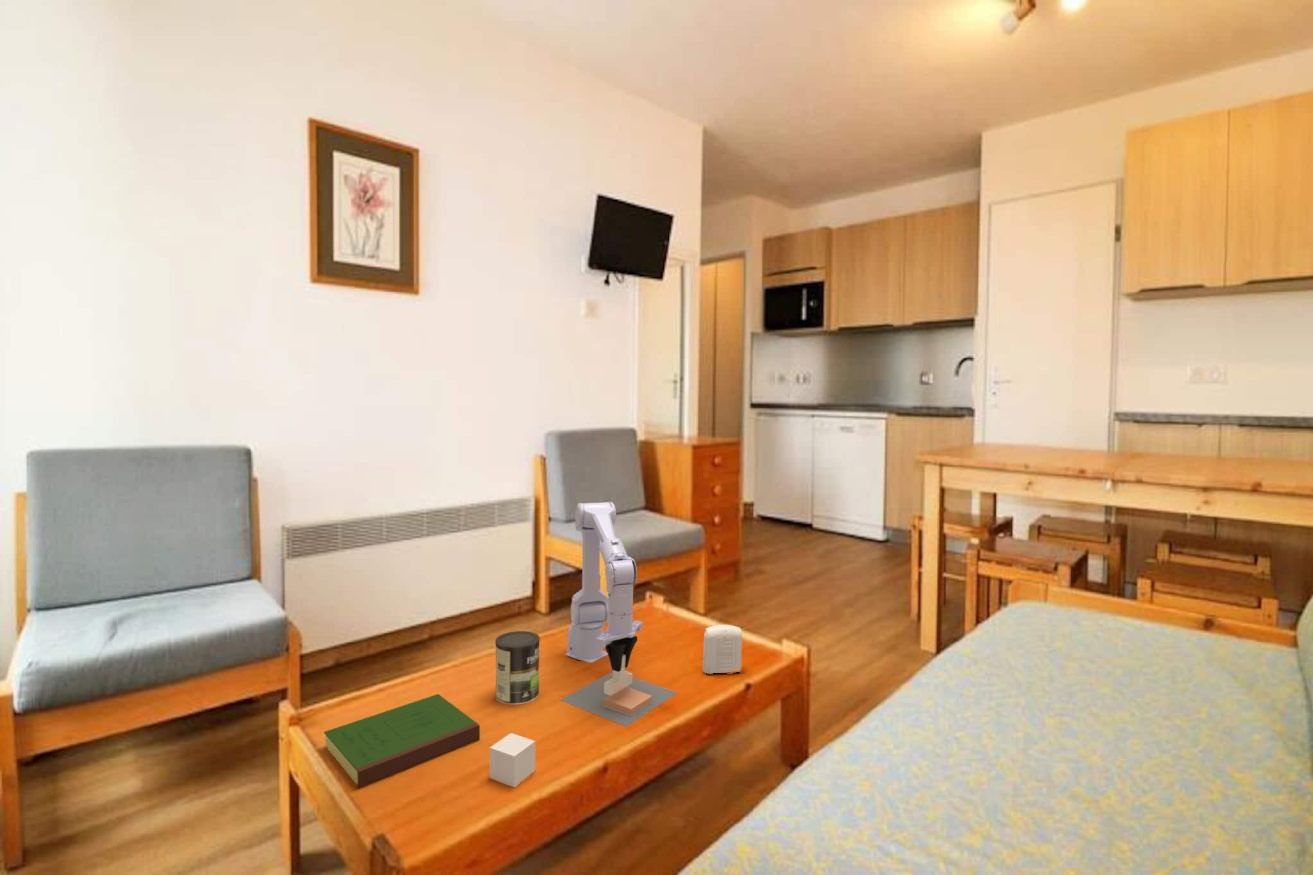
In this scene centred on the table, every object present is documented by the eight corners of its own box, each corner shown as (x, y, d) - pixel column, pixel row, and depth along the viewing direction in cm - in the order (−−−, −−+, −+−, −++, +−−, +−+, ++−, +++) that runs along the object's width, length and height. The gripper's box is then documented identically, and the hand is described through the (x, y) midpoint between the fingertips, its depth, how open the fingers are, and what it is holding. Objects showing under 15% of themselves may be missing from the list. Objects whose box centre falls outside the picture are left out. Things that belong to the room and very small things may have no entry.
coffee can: (545, 688, 156) (546, 632, 155) (529, 708, 146) (529, 648, 145) (506, 684, 158) (506, 628, 157) (487, 703, 148) (487, 644, 147)
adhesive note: (510, 762, 125) (511, 732, 125) (535, 771, 122) (535, 740, 122) (489, 778, 120) (489, 747, 119) (514, 787, 117) (514, 756, 117)
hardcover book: (358, 791, 116) (358, 771, 116) (324, 749, 129) (324, 731, 129) (482, 741, 133) (482, 723, 133) (441, 708, 147) (441, 692, 146)
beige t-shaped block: (603, 692, 147) (605, 659, 146) (625, 680, 153) (626, 648, 153) (610, 695, 146) (612, 662, 145) (632, 683, 152) (633, 650, 151)
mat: (559, 701, 150) (559, 699, 150) (613, 672, 166) (613, 670, 166) (626, 728, 138) (626, 726, 138) (677, 694, 154) (677, 692, 154)
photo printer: (738, 667, 170) (740, 622, 170) (743, 674, 166) (744, 627, 165) (701, 668, 169) (702, 623, 168) (704, 675, 165) (705, 629, 164)
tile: (603, 698, 147) (631, 709, 142) (625, 686, 153) (652, 695, 149) (603, 705, 147) (631, 716, 142) (625, 693, 153) (652, 702, 149)
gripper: (613, 623, 140) (613, 684, 141) (652, 606, 152) (651, 662, 152) (589, 617, 144) (589, 675, 145) (629, 600, 156) (628, 655, 157)
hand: (619, 668), depth 149 cm, fingers closed on beige t-shaped block, 2 cm apart
